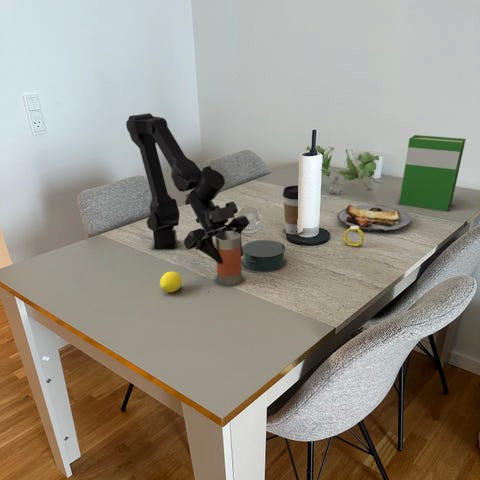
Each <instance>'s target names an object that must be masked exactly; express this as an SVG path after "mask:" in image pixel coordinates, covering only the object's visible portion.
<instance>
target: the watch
mask: <svg viewBox="0 0 480 480" xmlns="http://www.w3.org/2000/svg"><path fill="white" fill-rule="evenodd" d="M349 231H352V232H353V231H354V232H356V231H357V232H358V233H359V235H360V238H361V239H360V242H359V243H353V242H351V241H349V239H348V232H349ZM343 239H344V242H345V243H346V244H347V246H352V247H353V246H354V247H359V246H360V245H361V244H363V242H364V240H365V235H364V232H363V230H362V229H361V228H359V227H358V226H349V228H348V229H346V231H344V234H343Z"/></svg>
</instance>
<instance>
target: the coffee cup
mask: <svg viewBox="0 0 480 480" xmlns="http://www.w3.org/2000/svg"><path fill="white" fill-rule="evenodd" d="M282 197H283V212H284V224H285V228H284V229H285V233H286V234H288V235H294V236H296V235H299V234H298V233H297V232H296V231H297V219H298V185H288V186H285V187H284V188H283V191H282ZM292 231H293V232H292Z"/></svg>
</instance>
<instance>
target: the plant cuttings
mask: <svg viewBox="0 0 480 480" xmlns="http://www.w3.org/2000/svg"><path fill="white" fill-rule="evenodd" d="M315 146H316V149H317V151H318V152H319V153H321V154H322V155H323V163H322V170H321V171H322V177H323V176H326V177H327V178H329V177H330V176H331V173H332V172H334V173H338V174H337V175H335V176H334V178H333V180H334V181H333V185H332V186H330V188H329V192H331V193H332V192H334V191H336V195H339V194H341V193H342V187H343V186H344V183H347V181H354V180H356V179H359V180H360V181H362V180H363V179H364V177H365V176H366V175H367V177H368V178H372V180H373V182H375V183H377V184H381V182H380V181H377V180H376V179H374V177H373V176H374V175H375V171H376V169H377V163H376V162H375V161H380V156H379V155H372V154H370V152H367V151H366V152H365V153H364V154H361V153H360V154H359V155H358V157H355V158H354V160H352V158H351V157H352V156H353V155H355V152H354V151H353V149H351V148H348V149H347V148H345V153H346V158H345V161H346V163H345V162H344V163H343V166H344V167H345V168H344V169H342V170H334V169H333V170H332V172H331V171H330V170H331V167H330V164H331V160H332V155H333V154H332V152H333V151H334V150H335V147H334V146H330V147H328V148H327V147H326V148H323V147H321V146H320V145H315ZM310 148H311V147H310V145H307V146H306V148H305V151H307V152H308V151H309V150H310ZM348 151H351V153H352V155H349V152H348ZM309 152H310V151H309ZM325 152H326V153H325ZM329 154H330V156H329ZM353 161H355V162H360V163H359V164H358V166H356V165H355V163H354V162H353ZM358 169H359V170H360V172H359V170H358ZM339 175H341V176H342V178H339ZM338 180H340V186H339V187H335V186H337V183H339V181H338ZM362 184H363V185H364V186H365V188H367V189H369V190H370V188H369V186H367V185H366V183H365V182H362ZM334 185H335V186H334ZM334 187H335V188H334Z"/></svg>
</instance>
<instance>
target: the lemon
mask: <svg viewBox="0 0 480 480" xmlns="http://www.w3.org/2000/svg"><path fill="white" fill-rule="evenodd" d="M159 281H160V282H159V286H160V288H161V289H162V290H163V291H164V292H166V293H174V292H176V291H178V290H179V289H180V288H181V287H182V284H183V278H182V276H181V275H180V273H178V272H176V271H172V270H171V271H170V270H169V271H166V272H165V273H164V274H163V275H161V278H160V280H159Z"/></svg>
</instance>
